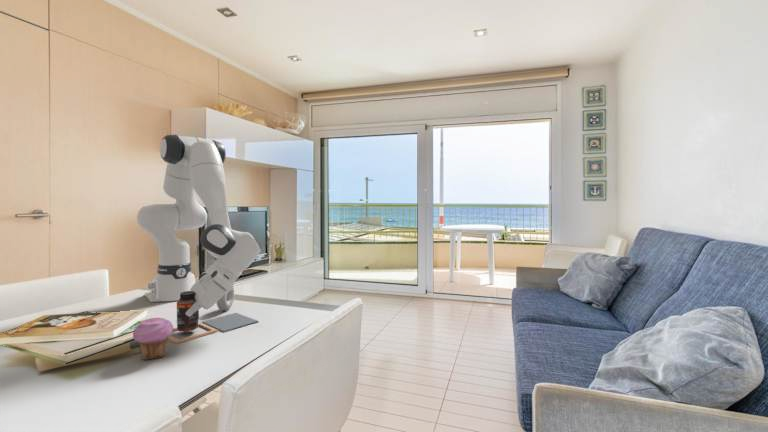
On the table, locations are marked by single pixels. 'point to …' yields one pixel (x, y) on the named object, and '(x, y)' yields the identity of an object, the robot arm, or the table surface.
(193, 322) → the supplement bottle
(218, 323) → the mat
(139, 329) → the cupcake
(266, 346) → the table surface
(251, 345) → the table surface
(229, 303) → the white toy tire
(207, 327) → the frame
